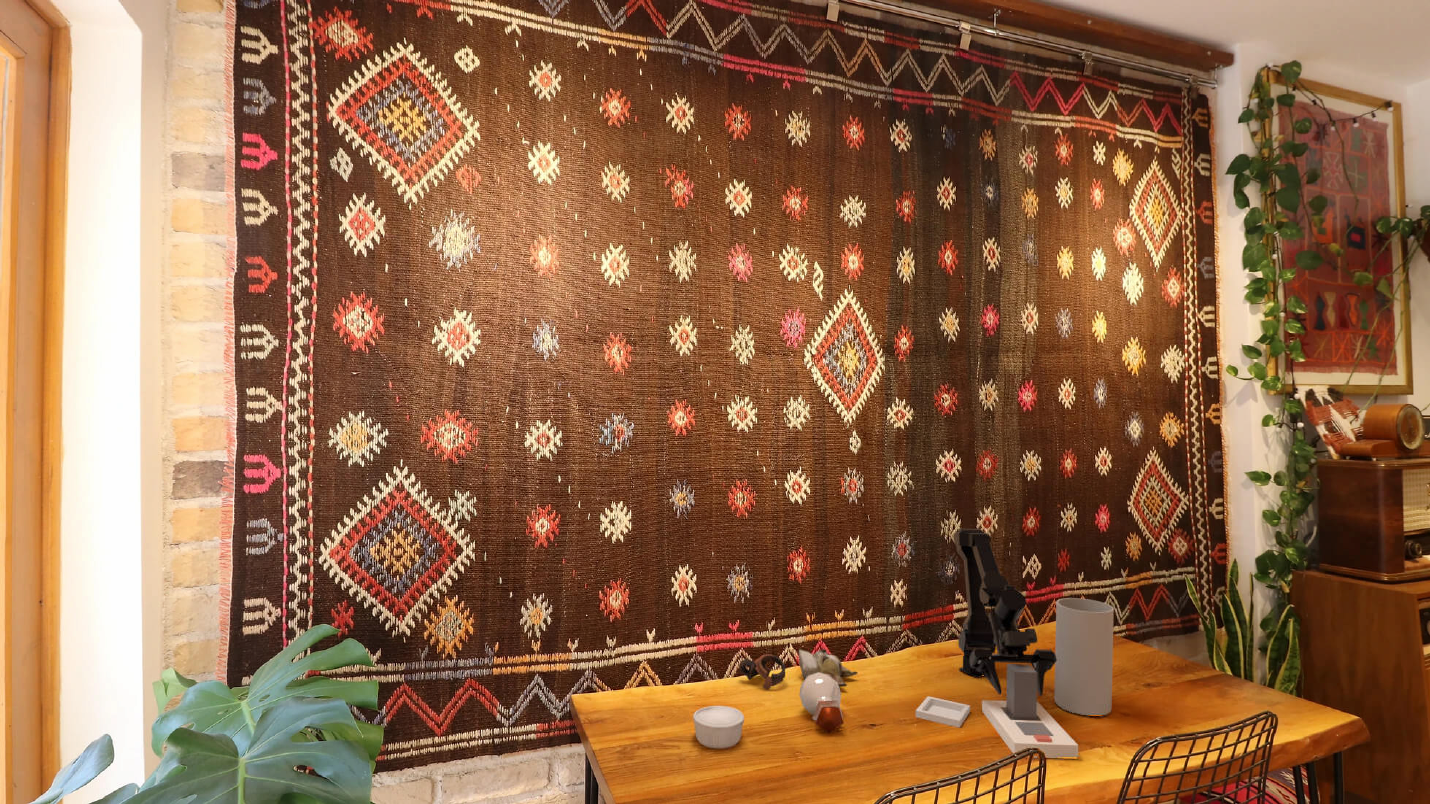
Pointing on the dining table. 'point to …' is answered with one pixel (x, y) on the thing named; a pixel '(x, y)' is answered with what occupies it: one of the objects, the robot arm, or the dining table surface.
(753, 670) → the brown curved piece
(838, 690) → the potion bottle
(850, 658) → the dining table surface
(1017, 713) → the plug
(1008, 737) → the power strip
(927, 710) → the tray
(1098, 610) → the cylinder vase
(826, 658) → the ceramic sculpture
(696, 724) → the ramekin
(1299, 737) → the dining table surface
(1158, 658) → the dining table surface
